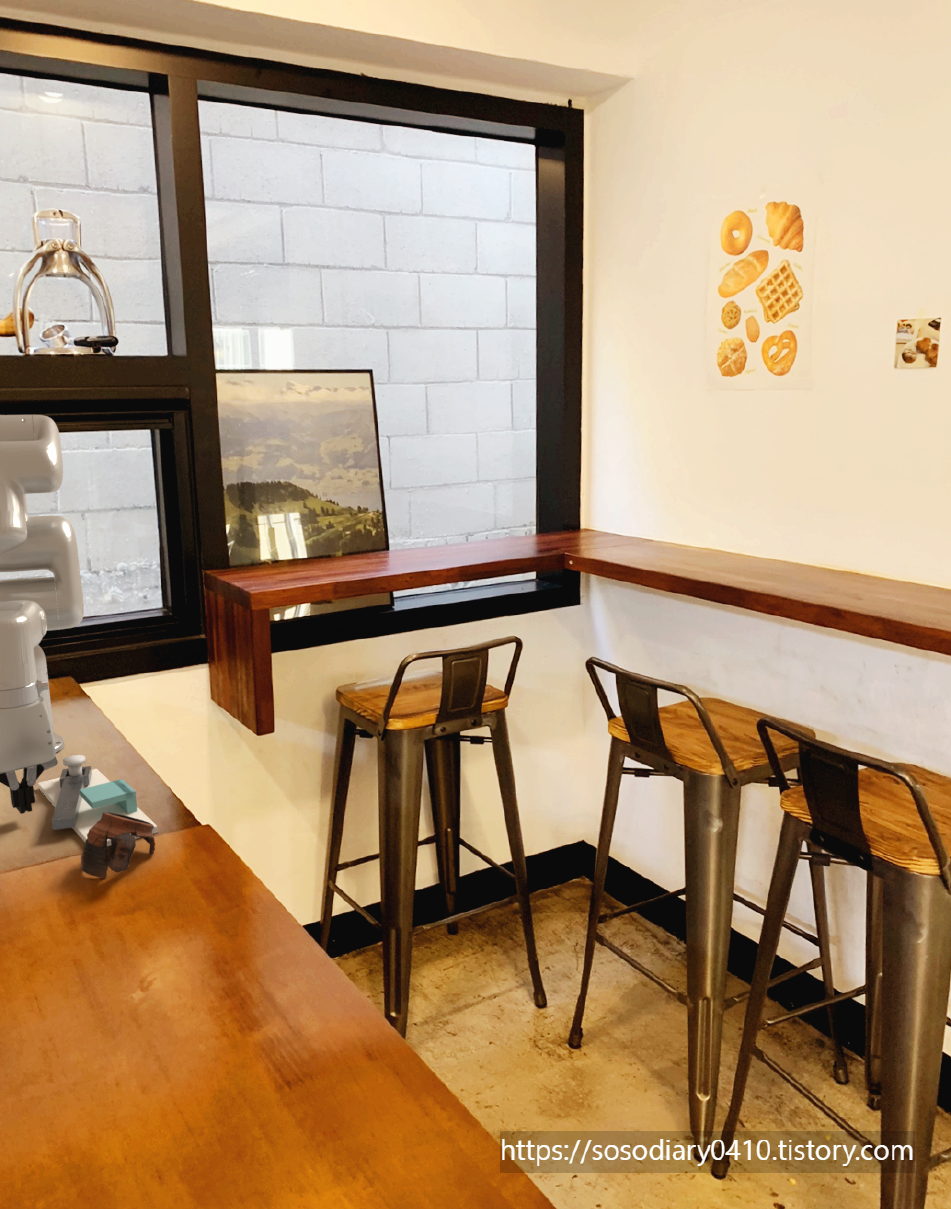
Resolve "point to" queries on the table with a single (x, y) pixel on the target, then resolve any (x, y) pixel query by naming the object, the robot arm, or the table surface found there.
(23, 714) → the robot arm
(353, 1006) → the table surface
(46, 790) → the base plank
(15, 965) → the table surface
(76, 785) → the swing link
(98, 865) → the brown two-tone legged part
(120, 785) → the keeper bracket
